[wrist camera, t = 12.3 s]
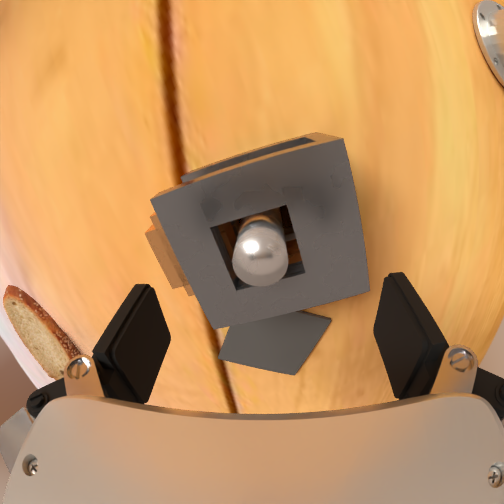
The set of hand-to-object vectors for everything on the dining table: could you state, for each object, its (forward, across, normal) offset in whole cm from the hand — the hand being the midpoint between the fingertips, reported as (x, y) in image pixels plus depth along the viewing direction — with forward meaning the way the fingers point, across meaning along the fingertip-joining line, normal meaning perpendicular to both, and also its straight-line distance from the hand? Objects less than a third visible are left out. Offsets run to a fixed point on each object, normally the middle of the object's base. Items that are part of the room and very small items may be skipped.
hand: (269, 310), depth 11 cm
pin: (+14, +1, 0) cm, 14 cm away
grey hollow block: (+14, +1, +1) cm, 14 cm away
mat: (+14, +1, +16) cm, 21 cm away
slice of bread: (+13, +38, +18) cm, 44 cm away
